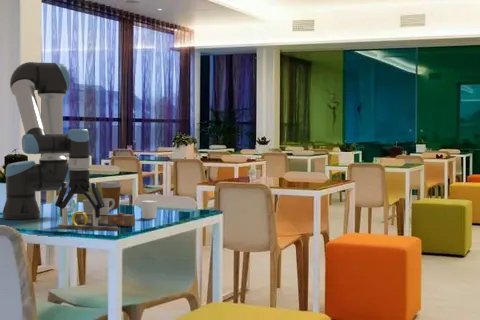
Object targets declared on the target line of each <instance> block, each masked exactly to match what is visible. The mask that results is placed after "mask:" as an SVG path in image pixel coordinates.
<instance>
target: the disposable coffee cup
mask: <svg viewBox="0 0 480 320" xmlns="http://www.w3.org/2000/svg"><path fill="white" fill-rule="evenodd" d="M100 187H101V190H102V191H101V192H102V198H108V199H114V201H115V206H114V207H113V208H112V209H111V210H115V209H119V205H120V197H121V189H122V183H121V181H102V182H101V184H100ZM111 206H112V201H110V202H109V208H110V207H111Z"/></svg>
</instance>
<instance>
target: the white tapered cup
mask: <svg viewBox="0 0 480 320" xmlns="http://www.w3.org/2000/svg"><path fill="white" fill-rule="evenodd" d="M140 207H141V208H140V210H141V217H142V219H147V220H148V219H151V220H152V219H157V213H158V212H157V209H158V200H155V199H154V200H153V199H150V200H149V199H147V200H141V201H140Z"/></svg>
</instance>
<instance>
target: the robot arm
mask: <svg viewBox="0 0 480 320" xmlns="http://www.w3.org/2000/svg"><path fill="white" fill-rule="evenodd" d="M69 71H70V70H69V69H68V67H67V66H66V65H65V64H64V63H59V62H58V63H57V62H34V61H27V62H24V63H21V64H20V65H19V66H17V67H16V68H15V70H14V71H13V73H11V77H10V81H9V86H10V91H11V94H12V95H14V96H15V100H16V103H17V107H18V111H19V116H20V119H21V122H22V127H23V130H24V134H23V135H22V138H21V149H22V151H23V153H24V154H27V155H41V154H42V155H41V156H40V158H39V160H38V163H36V162H35V160H23V161H17V162H12V163H9V164H7V165H6V167H5V189H6V190H5V191H6V192H5V195H6V200H5V204H4V206H3V210H2V213H1V217H2V219H3V220H17V221H18V220H31V219H37V218H40V217H41V211H40V207H39V205H38V201H37V199H36V195H37V194H36V192H52V191H53V192H54V191H56V192H58V191H59V193H58V196H57V199H56V202H55V204H54V205H55V207H58V208H59V216H60V217H61V225H69V224H68V208H67V205H68V203H69V202H70V201H71V199H72V198H73V196H75V195H83V196H85V197H86V198H87V199H88V200H89V201H90V203H91V204H92V205H93V207H94V209H93V225H92V226H99V225H98V218H99V217H100V208H102V207H104V206H105V205H104V202H103V200H102V198H103V197H102V196H101V193H100V191H99V189H98V188H99V187H98V183H97V182H90V170H89V169H90V135H89V132H90V131H89V130H88V129H87V128H71V129H69V130H68V133H64V123H63V122H64V119H63V118H64V117H63V116H64V115H63V113H64V112H63V111H64V110H63V99H64V97H65V96H66V95H67V92H68V91H70V89H71V76H70V72H69ZM35 91H37V96H38V97H39V98H40V99H41V112H40V108H39V104H38V101H37V96H36V93H35ZM64 154H68V158H67V157H66V156H65V155H64ZM68 188H70V189H69V191H68ZM89 188H90V189H91V190H92V192H91V191H90V189H89ZM67 191H68V192H67ZM66 193H67V194H66ZM92 193H93V194H92ZM95 199H96V200H95Z"/></svg>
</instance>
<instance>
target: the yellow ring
mask: <svg viewBox="0 0 480 320" xmlns="http://www.w3.org/2000/svg"><path fill="white" fill-rule="evenodd" d="M73 213H74V214H72V217H71V218H72V219H71V221H72V225H78V224H76V222H75V216H76V214H77V213H82V214H83V215H84V216H85V223H84V224H79V225H80V226H87V225H88V224H87V222H88V217H87V215H86V213H84V210H76V212H73Z"/></svg>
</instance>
